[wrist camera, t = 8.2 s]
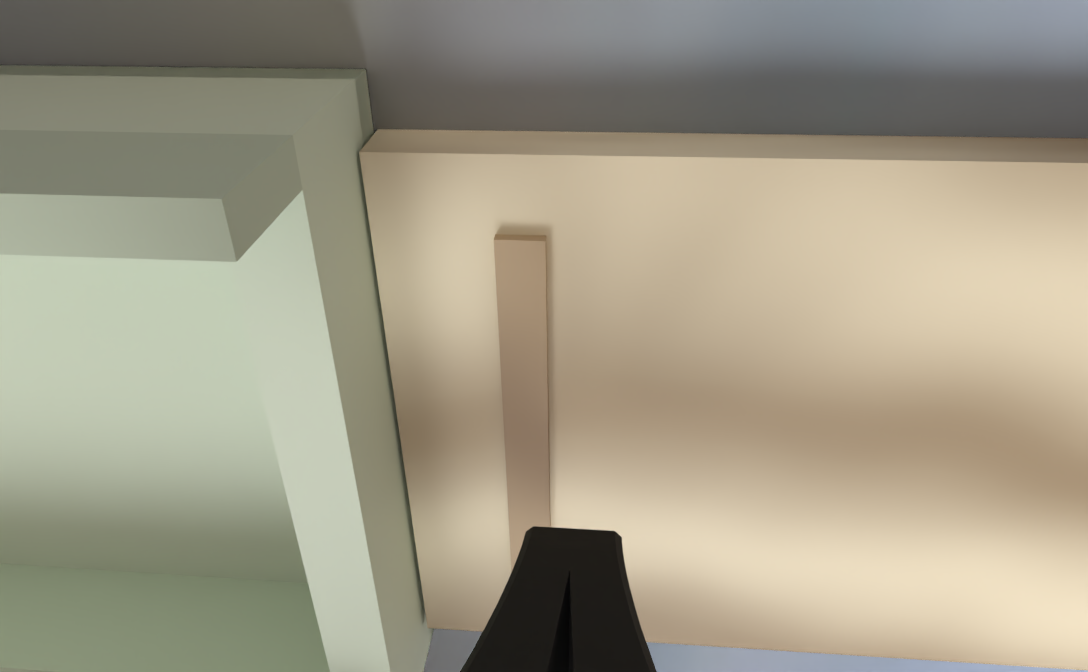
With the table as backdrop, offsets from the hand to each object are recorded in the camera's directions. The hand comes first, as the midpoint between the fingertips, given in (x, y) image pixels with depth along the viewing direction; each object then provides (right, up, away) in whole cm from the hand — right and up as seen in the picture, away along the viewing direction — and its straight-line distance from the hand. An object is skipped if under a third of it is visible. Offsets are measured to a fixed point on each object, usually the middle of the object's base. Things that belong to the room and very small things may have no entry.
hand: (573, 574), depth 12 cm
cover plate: (+5, +2, +3) cm, 6 cm away
